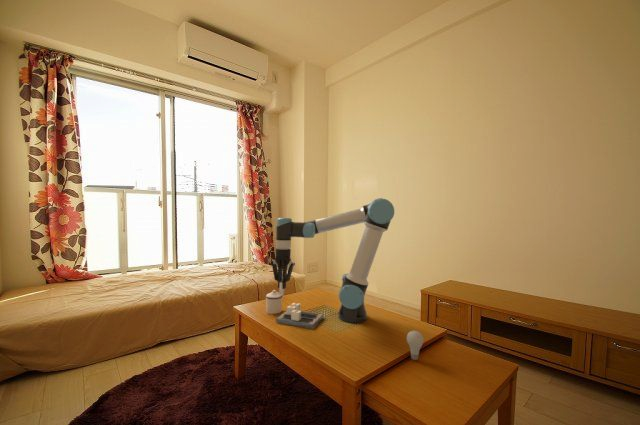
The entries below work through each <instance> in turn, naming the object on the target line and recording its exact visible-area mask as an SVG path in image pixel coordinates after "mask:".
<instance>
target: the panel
mask: <svg viewBox="0 0 640 425" xmlns="http://www.w3.org/2000/svg"><path fill="white" fill-rule="evenodd" d="M300 311H301V319H300V320H299V321H295V320H291V315H287V310H286V311H285V312H283V313H281V314H280V315H279V316H277V317H276V318H275V323H277V324H283V325H287V326H288V325H289V326H292V327H293V326H294V327H299V328H305V329H309V330H311V329H312V330H314V329H315V328H316V327H317V325H318V324H320V322H321V321H322V320H323V319H324V314H323V313H315V312H311V311H304V310H300Z"/></svg>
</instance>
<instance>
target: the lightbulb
mask: <svg viewBox="0 0 640 425" xmlns="http://www.w3.org/2000/svg"><path fill="white" fill-rule="evenodd" d="M424 341H425V340H424V337H423V334H422V333H421V332H419V331H418V330H410V331H409V332H408V333H407V335H406V342H407V344H408V346H409V349H410V359H412V360H413V361H417V360H418V359H419V355H420V350H421V348H422V347H423V344H424Z"/></svg>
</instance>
